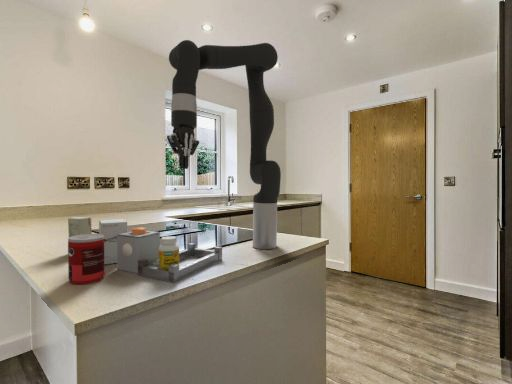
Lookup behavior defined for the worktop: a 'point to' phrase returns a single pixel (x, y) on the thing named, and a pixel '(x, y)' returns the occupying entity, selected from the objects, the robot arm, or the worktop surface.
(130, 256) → the cabinet
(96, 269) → the canned food
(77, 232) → the skincare box
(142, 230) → the brown egg
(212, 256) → the grey rectangular tray
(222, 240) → the worktop surface
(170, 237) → the supplement bottle
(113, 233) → the supplement box
